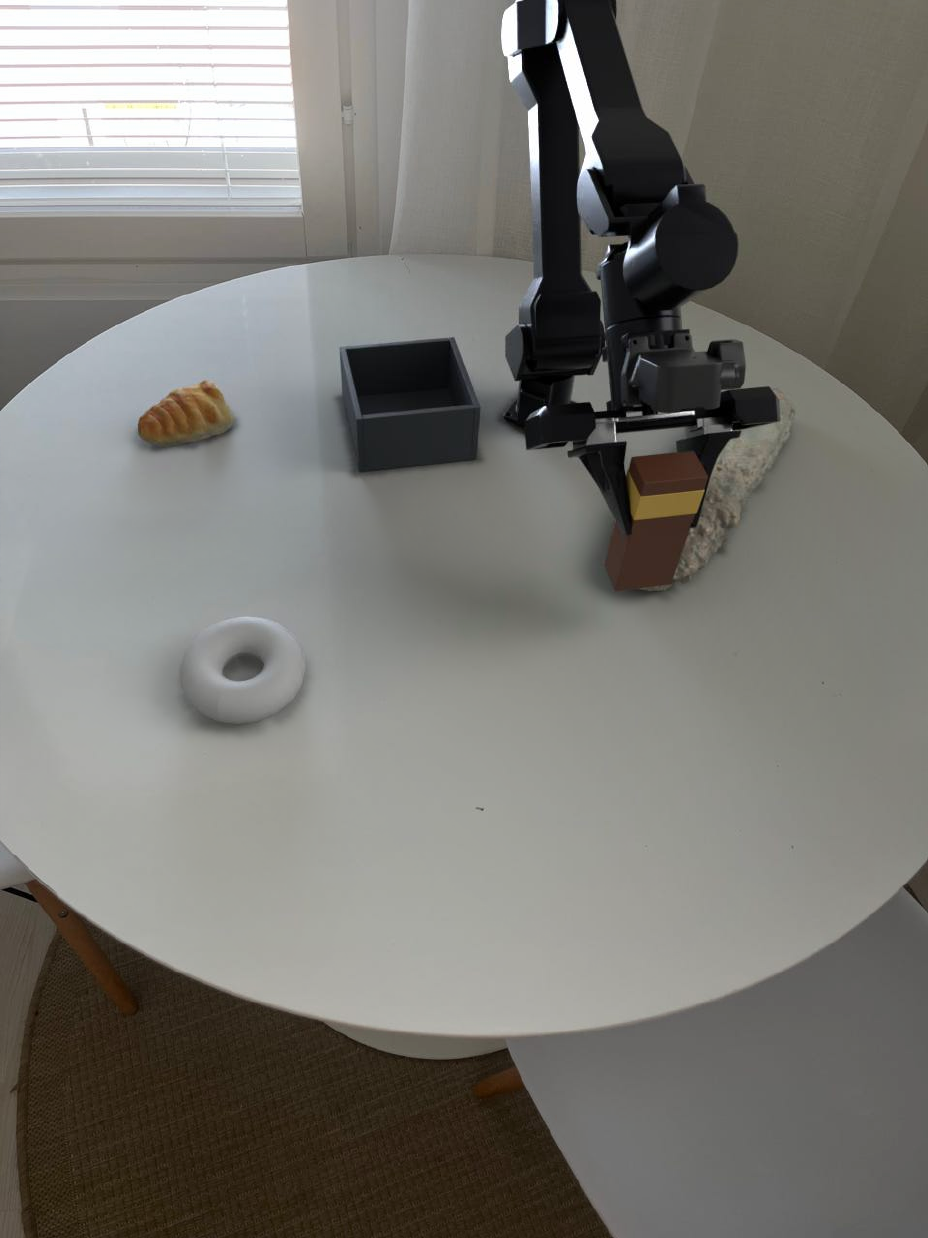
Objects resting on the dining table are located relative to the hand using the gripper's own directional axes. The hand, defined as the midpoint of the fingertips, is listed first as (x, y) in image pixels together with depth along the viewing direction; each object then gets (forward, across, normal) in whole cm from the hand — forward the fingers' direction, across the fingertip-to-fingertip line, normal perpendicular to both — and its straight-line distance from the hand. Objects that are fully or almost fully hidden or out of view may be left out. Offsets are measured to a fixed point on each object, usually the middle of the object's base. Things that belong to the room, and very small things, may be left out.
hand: (659, 531), depth 70 cm
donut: (+9, -33, +9) cm, 35 cm away
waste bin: (-12, -15, +30) cm, 36 cm away
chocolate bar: (+4, 0, +6) cm, 7 cm away
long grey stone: (-2, +14, +20) cm, 25 cm away
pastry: (-15, -37, +33) cm, 52 cm away
